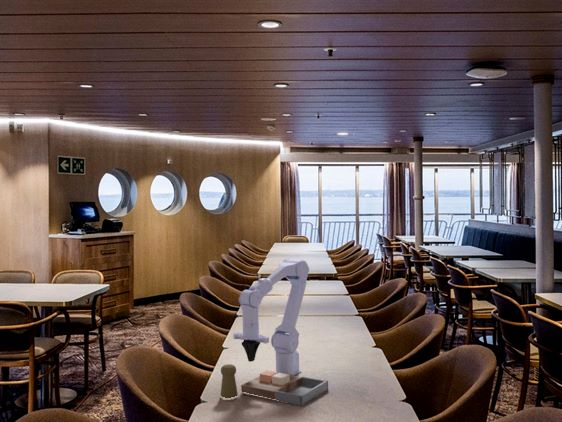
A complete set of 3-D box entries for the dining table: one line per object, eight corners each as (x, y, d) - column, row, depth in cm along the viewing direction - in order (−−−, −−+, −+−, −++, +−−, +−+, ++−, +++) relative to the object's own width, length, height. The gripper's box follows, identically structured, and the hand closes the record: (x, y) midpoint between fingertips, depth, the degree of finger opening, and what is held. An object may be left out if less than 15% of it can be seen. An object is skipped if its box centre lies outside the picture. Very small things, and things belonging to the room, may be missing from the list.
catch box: (302, 385, 200) (302, 376, 200) (328, 389, 194) (327, 380, 194) (275, 400, 185) (274, 391, 185) (301, 406, 179) (301, 396, 179)
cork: (238, 394, 192) (237, 362, 192) (237, 400, 186) (236, 367, 186) (220, 394, 192) (220, 362, 192) (219, 400, 186) (218, 368, 186)
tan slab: (270, 379, 207) (270, 371, 207) (302, 385, 200) (302, 376, 200) (241, 393, 192) (241, 385, 192) (275, 400, 185) (274, 391, 185)
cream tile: (279, 379, 197) (278, 372, 197) (289, 381, 195) (289, 374, 195) (271, 383, 193) (271, 376, 193) (282, 385, 191) (282, 378, 191)
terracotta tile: (266, 377, 200) (266, 370, 200) (277, 379, 198) (277, 372, 198) (259, 380, 196) (259, 373, 196) (270, 382, 194) (270, 375, 194)
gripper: (227, 323, 201) (228, 360, 201) (260, 327, 193) (261, 366, 193) (239, 319, 207) (240, 356, 207) (272, 323, 199) (272, 361, 199)
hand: (251, 360), depth 201 cm, fingers closed
